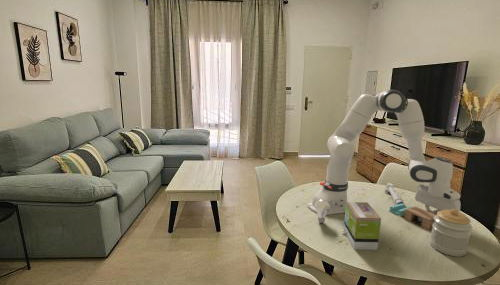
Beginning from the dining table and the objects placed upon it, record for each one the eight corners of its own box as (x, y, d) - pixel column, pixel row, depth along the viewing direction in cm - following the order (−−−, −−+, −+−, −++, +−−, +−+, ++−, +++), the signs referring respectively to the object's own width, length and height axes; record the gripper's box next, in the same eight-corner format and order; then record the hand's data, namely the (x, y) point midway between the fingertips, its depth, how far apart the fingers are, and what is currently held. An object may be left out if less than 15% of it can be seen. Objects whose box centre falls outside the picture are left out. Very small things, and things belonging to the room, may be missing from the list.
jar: (453, 260, 109) (462, 218, 105) (422, 243, 121) (428, 205, 117) (473, 253, 114) (482, 213, 110) (441, 236, 126) (448, 200, 122)
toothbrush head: (396, 201, 154) (384, 180, 177) (394, 211, 156) (383, 189, 179) (406, 202, 153) (393, 180, 176) (404, 212, 155) (391, 190, 178)
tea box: (342, 230, 129) (345, 201, 126) (364, 231, 129) (368, 201, 126) (353, 249, 115) (356, 216, 112) (378, 250, 114) (382, 217, 111)
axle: (422, 225, 135) (424, 218, 134) (414, 221, 139) (416, 214, 138) (442, 218, 142) (443, 211, 141) (434, 215, 146) (435, 208, 145)
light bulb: (320, 227, 132) (322, 204, 129) (310, 221, 138) (312, 198, 135) (331, 224, 135) (333, 201, 132) (321, 218, 141) (323, 195, 138)
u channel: (400, 216, 144) (401, 211, 144) (389, 211, 150) (389, 206, 149) (412, 212, 149) (413, 207, 148) (401, 207, 154) (402, 203, 154)
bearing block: (427, 230, 131) (429, 219, 130) (404, 219, 141) (405, 209, 140) (438, 226, 135) (439, 216, 133) (414, 216, 145) (415, 206, 144)
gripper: (414, 184, 147) (410, 208, 150) (456, 198, 129) (451, 226, 132) (421, 182, 150) (418, 206, 152) (464, 196, 132) (459, 223, 135)
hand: (434, 215), depth 142 cm, fingers closed on axle, 4 cm apart
